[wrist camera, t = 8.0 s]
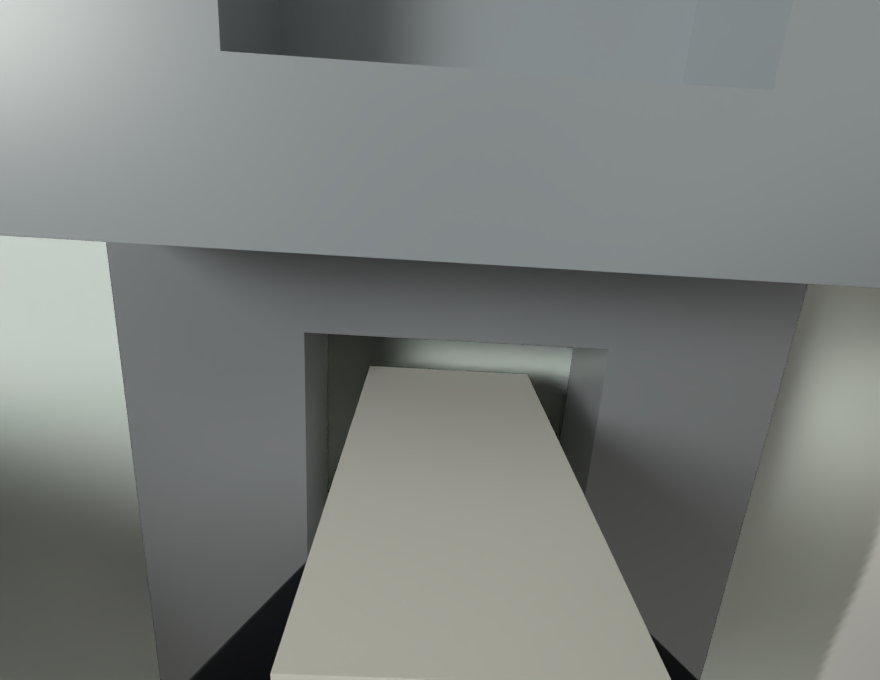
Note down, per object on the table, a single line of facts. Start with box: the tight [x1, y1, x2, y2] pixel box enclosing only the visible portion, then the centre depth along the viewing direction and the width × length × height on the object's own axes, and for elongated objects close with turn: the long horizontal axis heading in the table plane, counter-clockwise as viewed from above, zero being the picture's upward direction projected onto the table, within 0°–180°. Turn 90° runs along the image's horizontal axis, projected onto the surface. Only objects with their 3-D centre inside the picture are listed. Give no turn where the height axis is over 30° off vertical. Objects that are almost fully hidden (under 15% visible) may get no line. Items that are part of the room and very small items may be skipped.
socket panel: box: [0, 0, 880, 680], centre depth 8 cm, size 20×11×5 cm, turn 176°
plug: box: [270, 366, 671, 680], centre depth 7 cm, size 4×3×7 cm, turn 176°
